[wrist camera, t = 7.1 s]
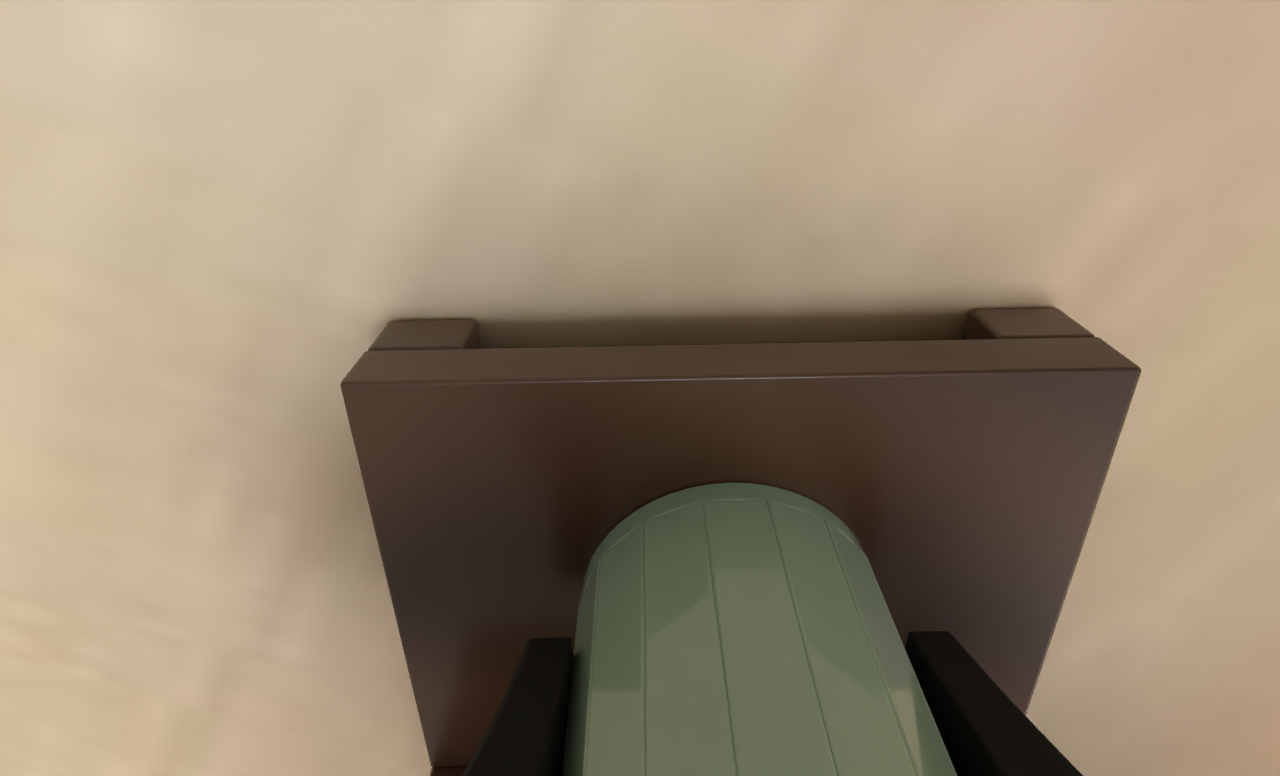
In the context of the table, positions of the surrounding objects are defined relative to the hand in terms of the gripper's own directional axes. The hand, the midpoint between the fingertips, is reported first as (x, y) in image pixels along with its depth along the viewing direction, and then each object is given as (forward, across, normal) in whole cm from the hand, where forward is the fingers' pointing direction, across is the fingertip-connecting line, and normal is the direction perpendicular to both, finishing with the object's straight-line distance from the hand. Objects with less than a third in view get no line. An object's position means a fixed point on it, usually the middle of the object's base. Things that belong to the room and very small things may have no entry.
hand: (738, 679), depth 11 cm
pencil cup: (+2, 0, 0) cm, 2 cm away
